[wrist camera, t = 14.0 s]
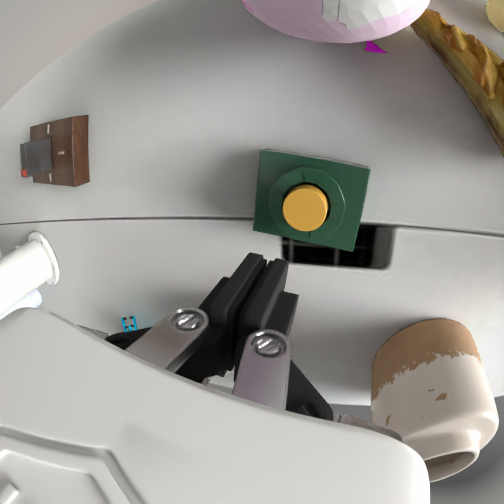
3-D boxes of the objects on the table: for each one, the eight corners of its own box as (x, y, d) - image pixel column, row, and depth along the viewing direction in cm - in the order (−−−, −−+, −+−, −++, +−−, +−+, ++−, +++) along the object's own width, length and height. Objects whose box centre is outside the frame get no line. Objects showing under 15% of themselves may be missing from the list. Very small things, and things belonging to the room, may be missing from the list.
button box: (258, 223, 29) (246, 237, 26) (266, 148, 26) (254, 151, 22) (352, 243, 27) (353, 260, 24) (368, 166, 24) (373, 172, 20)
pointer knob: (45, 138, 31) (18, 144, 26) (50, 137, 30) (23, 143, 26) (47, 169, 33) (21, 177, 28) (52, 169, 32) (25, 177, 28)
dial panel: (45, 178, 38) (32, 182, 35) (43, 124, 34) (29, 127, 31) (89, 181, 35) (74, 187, 32) (88, 115, 30) (71, 117, 27)
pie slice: (554, 116, 11) (593, 129, 5) (511, 178, 18) (543, 207, 12) (427, -10, 12) (436, -42, 6) (383, 54, 19) (381, 36, 13)
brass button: (284, 220, 25) (279, 226, 23) (289, 181, 23) (285, 184, 22) (323, 228, 24) (322, 235, 22) (331, 189, 22) (330, 193, 21)
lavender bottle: (30, 288, 58) (-24, 328, 39) (32, 280, 55) (-26, 322, 36) (41, 305, 59) (-12, 348, 40) (44, 298, 56) (-13, 344, 37)
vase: (395, 405, 35) (392, 498, 20) (351, 352, 33) (337, 469, 18) (480, 364, 27) (503, 458, 13) (456, 295, 25) (501, 412, 11)
